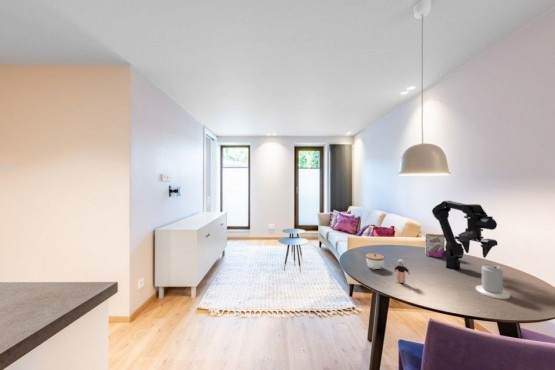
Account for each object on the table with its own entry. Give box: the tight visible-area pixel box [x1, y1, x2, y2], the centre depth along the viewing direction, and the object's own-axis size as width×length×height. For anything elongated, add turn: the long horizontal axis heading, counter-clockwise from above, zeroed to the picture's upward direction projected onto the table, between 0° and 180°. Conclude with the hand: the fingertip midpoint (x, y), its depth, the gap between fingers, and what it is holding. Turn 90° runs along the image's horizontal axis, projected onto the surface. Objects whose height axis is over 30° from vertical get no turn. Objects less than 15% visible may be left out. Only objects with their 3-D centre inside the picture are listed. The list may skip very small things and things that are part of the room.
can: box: [481, 263, 504, 293], centre depth 109 cm, size 8×8×12 cm
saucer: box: [475, 284, 511, 300], centre depth 109 cm, size 12×12×1 cm
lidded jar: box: [365, 252, 385, 270], centre depth 143 cm, size 11×11×9 cm
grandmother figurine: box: [393, 259, 411, 285], centre depth 122 cm, size 8×4×13 cm, turn 66°
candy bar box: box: [424, 232, 445, 259], centre depth 164 cm, size 11×5×16 cm, turn 65°
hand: (475, 255), depth 126 cm, fingers open, 9 cm apart
